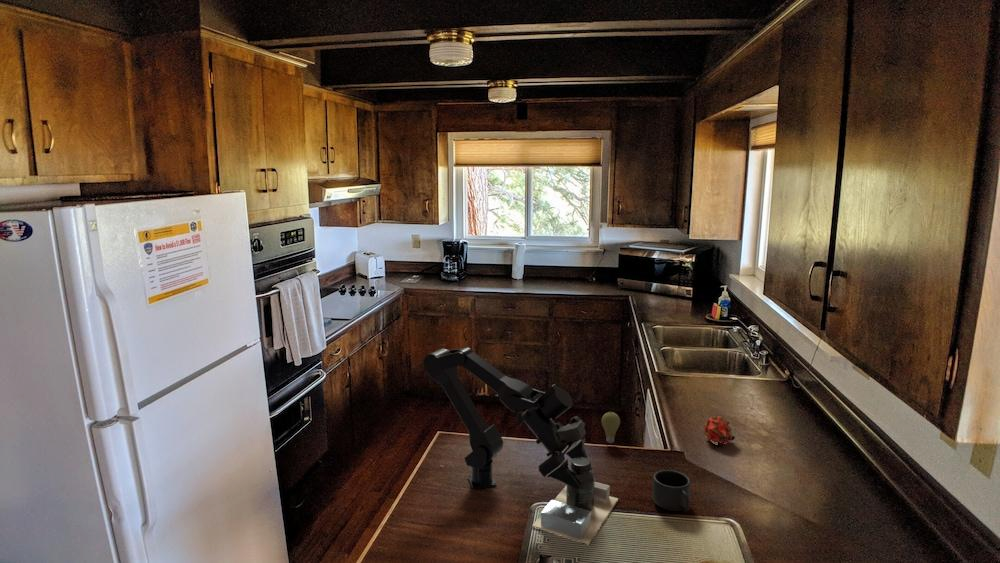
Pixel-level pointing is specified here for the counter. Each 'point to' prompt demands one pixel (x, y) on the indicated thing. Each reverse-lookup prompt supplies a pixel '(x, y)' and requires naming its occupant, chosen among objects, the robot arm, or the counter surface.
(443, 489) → the counter surface
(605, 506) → the vise
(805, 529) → the counter surface
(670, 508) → the mug
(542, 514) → the sliding jaw
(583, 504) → the supplement bottle
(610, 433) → the light bulb
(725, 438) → the dragon fruit
